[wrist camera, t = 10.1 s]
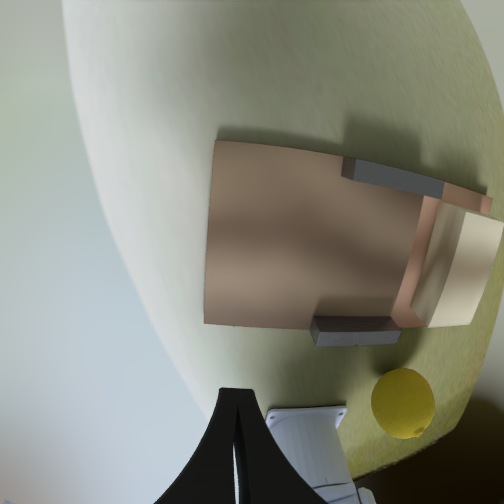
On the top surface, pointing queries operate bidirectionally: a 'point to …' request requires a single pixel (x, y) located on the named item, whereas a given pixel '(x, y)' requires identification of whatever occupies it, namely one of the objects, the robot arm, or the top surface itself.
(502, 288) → the top surface
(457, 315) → the block
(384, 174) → the channel
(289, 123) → the top surface
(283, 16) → the top surface
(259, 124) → the top surface
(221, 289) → the board
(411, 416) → the lemon
